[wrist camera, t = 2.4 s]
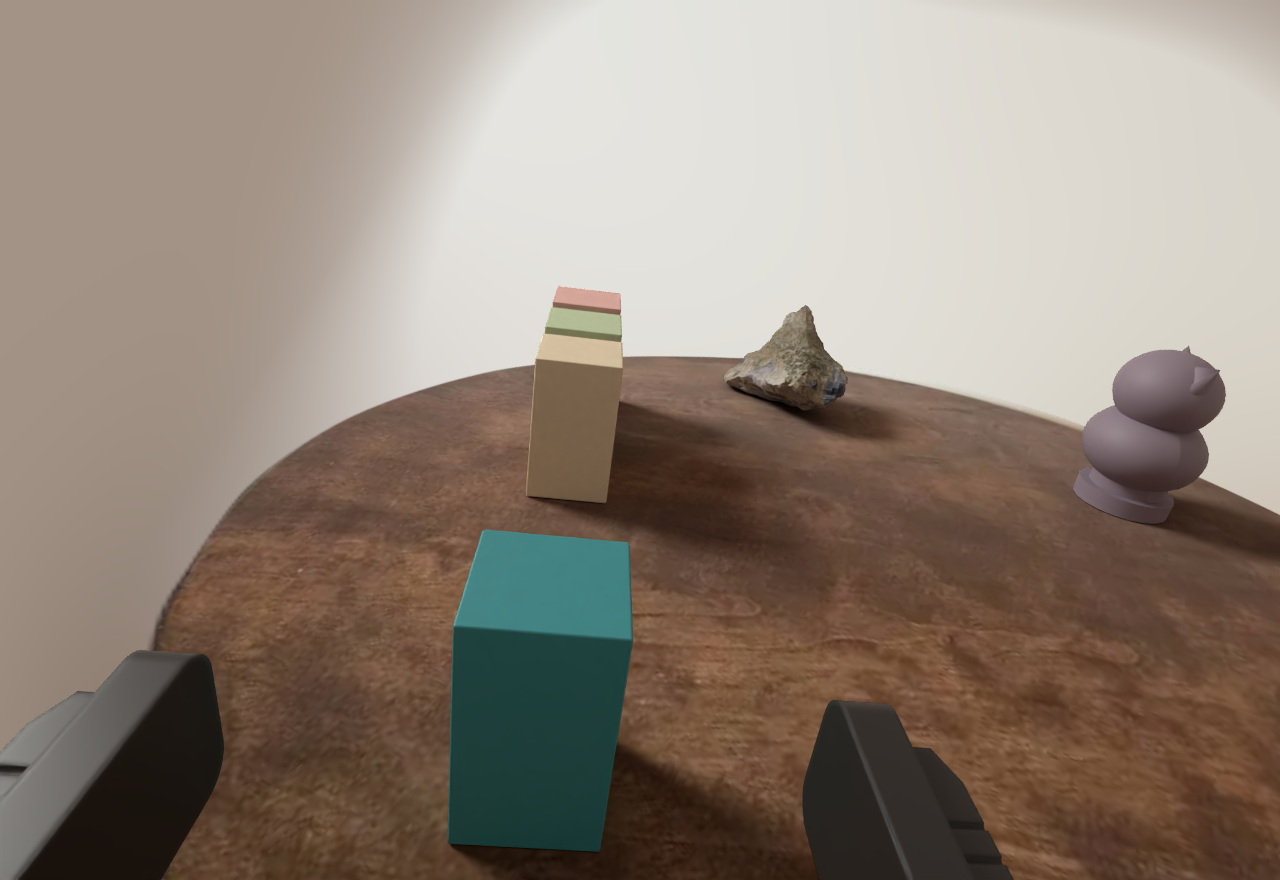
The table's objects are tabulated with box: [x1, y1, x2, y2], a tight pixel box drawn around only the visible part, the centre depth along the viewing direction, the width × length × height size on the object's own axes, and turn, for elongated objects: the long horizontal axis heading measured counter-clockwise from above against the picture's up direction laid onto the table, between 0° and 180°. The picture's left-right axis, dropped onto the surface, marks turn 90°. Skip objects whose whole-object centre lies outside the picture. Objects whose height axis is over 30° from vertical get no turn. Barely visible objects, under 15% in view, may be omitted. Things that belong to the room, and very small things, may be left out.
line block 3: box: [526, 333, 623, 503], centre depth 45 cm, size 5×5×9 cm
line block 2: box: [545, 307, 622, 342], centre depth 51 cm, size 5×5×9 cm
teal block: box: [448, 530, 633, 852], centre depth 24 cm, size 5×5×9 cm
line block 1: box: [553, 287, 621, 315], centre depth 57 cm, size 5×5×9 cm
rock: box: [723, 305, 848, 410], centre depth 64 cm, size 11×6×10 cm
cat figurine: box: [1073, 346, 1226, 524], centre depth 53 cm, size 8×8×12 cm
